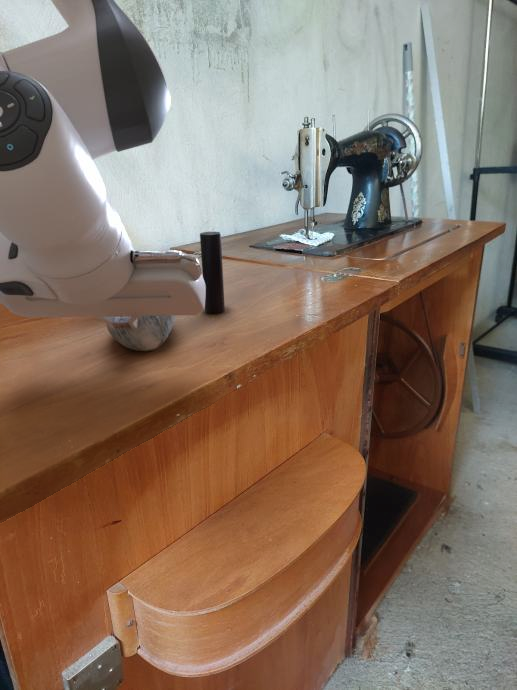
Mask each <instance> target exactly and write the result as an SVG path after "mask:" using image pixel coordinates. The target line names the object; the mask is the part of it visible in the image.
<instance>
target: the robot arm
mask: <svg viewBox="0 0 517 690" xmlns="http://www.w3.org/2000/svg"><path fill="white" fill-rule="evenodd" d="M50 1H51V2H52V4H53V5H54V7H55V8H56V10H57V11H58V13H59V14H60V15H61V17H62V18H63V20H64V21H65V23H66V24H67V26H68V27H66V28H65V29H64V30H62V31H60V32H57V33H55V34H53V35H49V36H46V37H43V38H41V39H38V40H35V41H32V42H29V43H26V44H24V45H20V46H18V47H15V48H12V49H9V50H6V51H0V303H1V304H2V305H3V306H4V307H5V308H6V309H7V310H8V311H9V312H11V313H12V314H14V315H16V316H17V317H18V316H19V317H22V318H25V319H38V318H39V319H41V318H45V319H46V318H93V319H95V320H97V321H100V322H103V323H105V324H106V323H108V325H109V326H110V327H111V329H115V328H116V329H119V328H137V324H138V316H175V317H177V316H178V317H179V316H180V317H181V316H198V315H200V313H202V312H203V311H205V298H206V285H205V281H204V279H203V274H202V266H201V264H200V261H199V259H198V257H196V256H193V255H192V256H191V255H189V254H188V253H186V252H183V251H181V250H176V249H151V250H148V249H147V250H145V249H144V250H135V248H134V246H133V245H134V244H132V241H131V239H130V237H129V234H128V232H127V230H126V227H125V226H124V223H123V222H122V219H121V217H120V215H119V213H118V211H117V209H116V208H115V206H114V205H113V204H112V203H111V202H110V200H108V199H107V190H106V184H105V182H104V180H103V177H102V175H101V173H100V171H99V168H98V167H97V164H96V162H95V160H96V159H99V158H102V157H104V156H106V155H109V154H111V153H114V152H117V153H119V152H123V151H126V150H130V149H133V148H138V147H141V146H144V145H148V144H151V143H153V142H154V141H155V139H156V137H157V136H158V134H159V133H160V131H161V129H162V127H163V125H164V123H165V121H166V119H167V116H168V113H169V110H170V107H171V104H172V103H171V102H172V101H171V94H170V90H169V85H168V81H167V77H166V75H165V72H164V70H163V67H162V63H161V62H160V60H159V57H158V56H157V54H156V52H155V51H154V49H153V48H152V46H151V45H150V44H149V43H148V41H147V40H146V39H145V37H144V35H143V34H142V32H141V31H140V30H139V29H138V27H137V26H136V25H135V23H134V22H133V21H132V20H131V19H130V18H129V16H128V14H126V13H125V12H124V10H123V9H122V8H121V7H120V6H119V5H118V3H117V2H116V1H115V0H50Z"/></svg>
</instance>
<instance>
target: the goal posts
mask: <svg viewBox="0 0 517 690" xmlns="http://www.w3.org/2000/svg"><path fill="white" fill-rule="evenodd" d="M199 243H200V256H201V257H200V258H201V271H202V273H201V274H202V276H203V279H204V281H205V285H206V298H205V308H204V313H205V314H208V315H220V314H224V313H225V311H226V310H225V309H226V307H225V306H226V305H225V287H224V285H225V284H224V267H223V249H222V248H223V247H222V233H221V231H203V232H200V233H199Z"/></svg>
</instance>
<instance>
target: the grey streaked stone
mask: <svg viewBox="0 0 517 690" xmlns="http://www.w3.org/2000/svg"><path fill="white" fill-rule="evenodd" d="M175 319H176V316H138V324H137V328H119V329H116V328H115V329H111V327H110V326H109V325H108V323H105V324H106V329H107V331H108V333H109V334H110V335H111V337H112V338H113V339H115V341H116V342H118V343H119V344H120V345H121V346H123V347H125V348H126V349H129V350H132V351H136V352H152V351H153V350H156V349H158V348H160V347H161V346H162V345H163V344H164V343H165V342H166V340H167V339H168V338H169V335H170V333H171V332H172V330H173V326H174V322H175Z"/></svg>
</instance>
